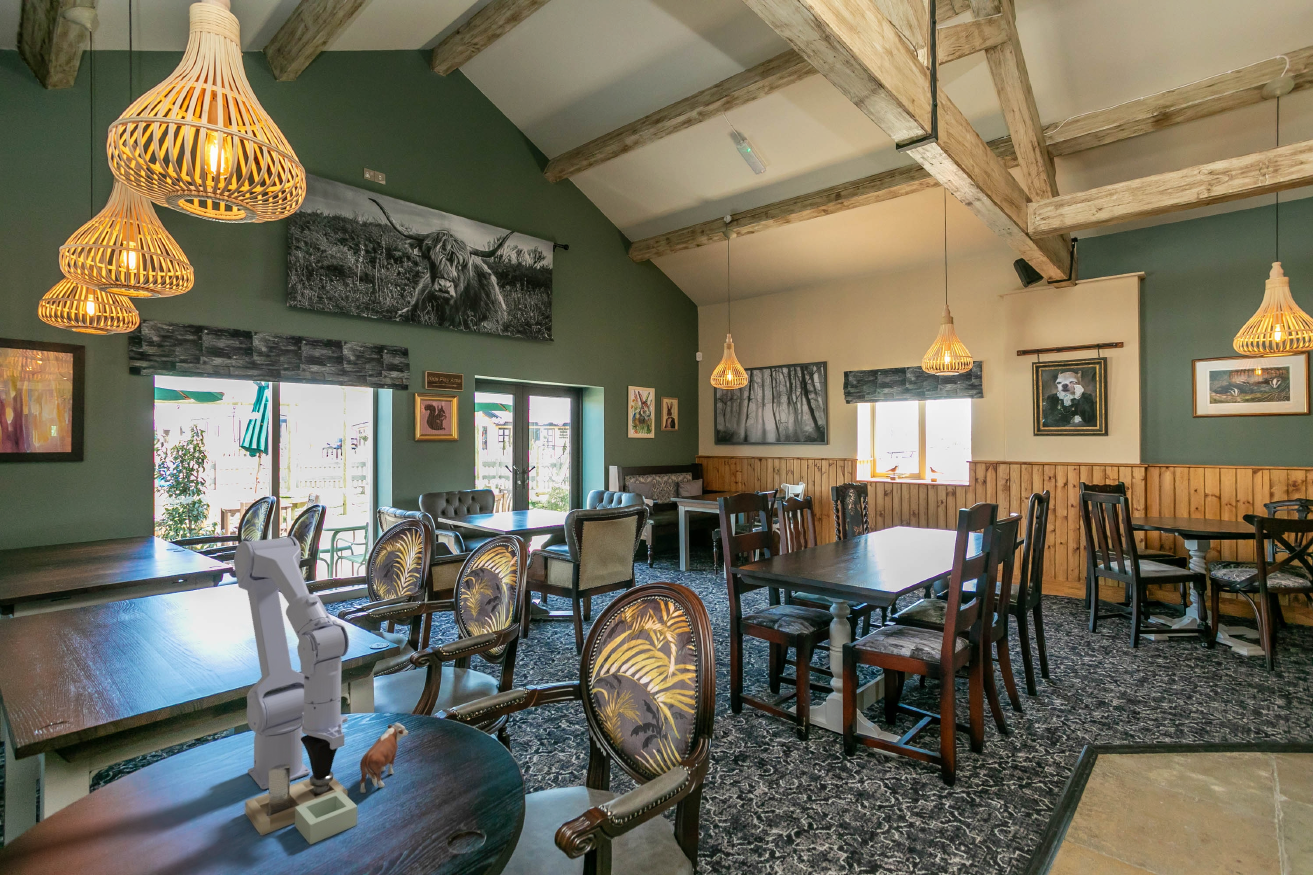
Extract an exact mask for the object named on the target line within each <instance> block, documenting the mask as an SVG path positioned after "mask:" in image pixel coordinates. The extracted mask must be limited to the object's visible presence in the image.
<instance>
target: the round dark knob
mask: <svg viewBox="0 0 1313 875" xmlns="http://www.w3.org/2000/svg"><path fill="white" fill-rule="evenodd" d="M333 777H334V772H333V771H332V770H331V771H330V774H329V776H326V777H324V778H321V779H318V780H316V779H315V778H314V776H313V774H312V775H311V776H310V777H309V779H310V785H311V786H314V789H313V796H314V797H316V796H319V795H321V794H324V793H327V792H329V783H330V782H331V781H332V780H333Z"/></svg>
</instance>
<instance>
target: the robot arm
mask: <svg viewBox="0 0 1313 875" xmlns="http://www.w3.org/2000/svg"><path fill="white" fill-rule="evenodd" d="M301 551H302V549H301V545H300V542H299V540H298V539H296V537H295V536H287V537H280V538H279V537H277V538H271V539H270V538H269V539H261V540H252V541H247V540H243V541H241V542H240V543H238V545H237V547H236V549H235V553H234V557H233V564H234V565H233V566H234V570H235V576H236V581H237V584H238V588H239V589H242V590H245V591H247V596H248V602H249V607H250V612H251V618H252V625H253V631H254V636H255V643H256V650H257V656H258V663H259V670H260V674H261V677H260V678H259V679H258V681H256V683H255V684H254V685H253V686H252V687H251V688H250V689H249V691H248V692H247V695H246V701H247V704H246V705H247V706H246V707H247V708H246V720H247V721H246V722H247V724H248V727H249V728H250V730H251V731H253V732H254V733H255V734H254V736H253V737H254V738H253V767H250V768H248V769H247V773H248V774H249V775H250V776H251V778H252V780H253V781H255V783H256V784H257V785H258V787H260V789H261V790H266V789H269V770H270V769H271V768H272V767H274V766H277V765H281V764H288V765H290V781H293V780H296V779H299V778H301V777H304V776H308V775H309V774H311V772H312V775H313V776H314V778H315V779H316V780H318V779H321V778H324V777H326V776H329V774H330V771H331V772H332V767H333V763H334V760H335V756H336V753H337V751H338V749H339V748H342V747H344V746H345V738H346V737H345V736H346V734H345V733H343V724H345V723H347V722H348V720H349V719H348V718H349V717H348V716H347V715H344V714H342V711H341V710H342V657H345V656H346V655H347V653H348V651H349V646H350V639H349V635H348V632H347V629H346V627H345V625H344V624H342V623H339V622H338V621H337V620H336V619H333V620H332V618H331V617H330V615H329V613H328V611H327V609H326V607H325V606H324V604H323V601H321V599H320V597H319V595H316V594H312V593H310V592H309V589H308V587H307V584H306V581H305V579H304V577H303V574H302V571H301V569H300V564H301V557H302V552H301ZM279 592H280V594H282V596H283V598H284V599H285V601H286V602H287V603H288V605H287V607H286V609H285V615H286V617H287V619H288V621H289V623H290V626H291V627H292V628H293V631H294V633H295V634H296V637H297V639H298V644H297V648H296V649H297V656H298V658H299V661H300V671H301V672H300V671H297V670H295V669H293V668H292V662H291V656H290V651H289V643H288V639H287V635H286V634H287V632H286V628H285V622H284V616H283V610H282V606H281V599H280V595H279ZM284 688H285V689H284ZM280 689H282V690H280ZM276 690H278V691H276ZM272 691H275V692H272ZM268 692H269V693H268ZM270 692H271V693H270ZM266 693H268V694H266ZM303 734H304V735H303ZM303 746H304V748H305V750H306V753H307V756H308V758H309V759H308V760H309V765H310V767H311V770H310V769H309V767H307V766H306V765H305V763H303V756H304V755H303V750H304V749H303Z"/></svg>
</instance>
